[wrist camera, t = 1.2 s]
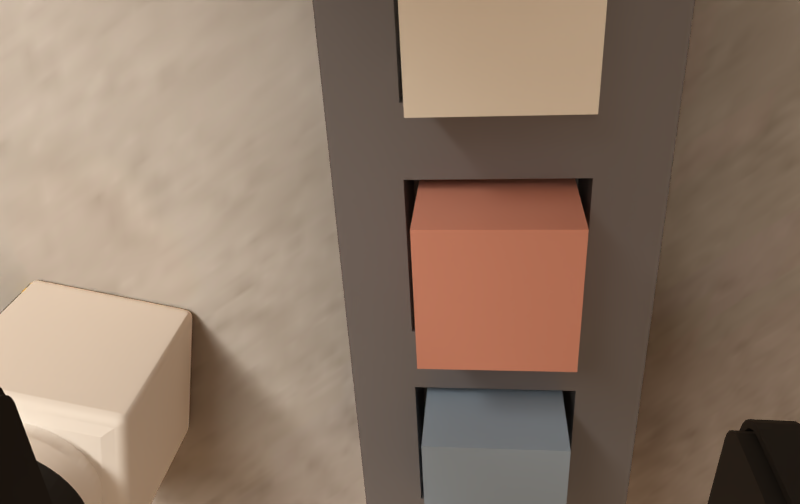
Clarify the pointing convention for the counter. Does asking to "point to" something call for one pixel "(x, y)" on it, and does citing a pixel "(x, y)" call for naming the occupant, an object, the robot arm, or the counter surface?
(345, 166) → the key panel
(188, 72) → the counter surface
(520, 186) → the terracotta key
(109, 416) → the medicine bottle
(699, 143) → the counter surface
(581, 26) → the off-white key
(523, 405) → the slate-blue key
